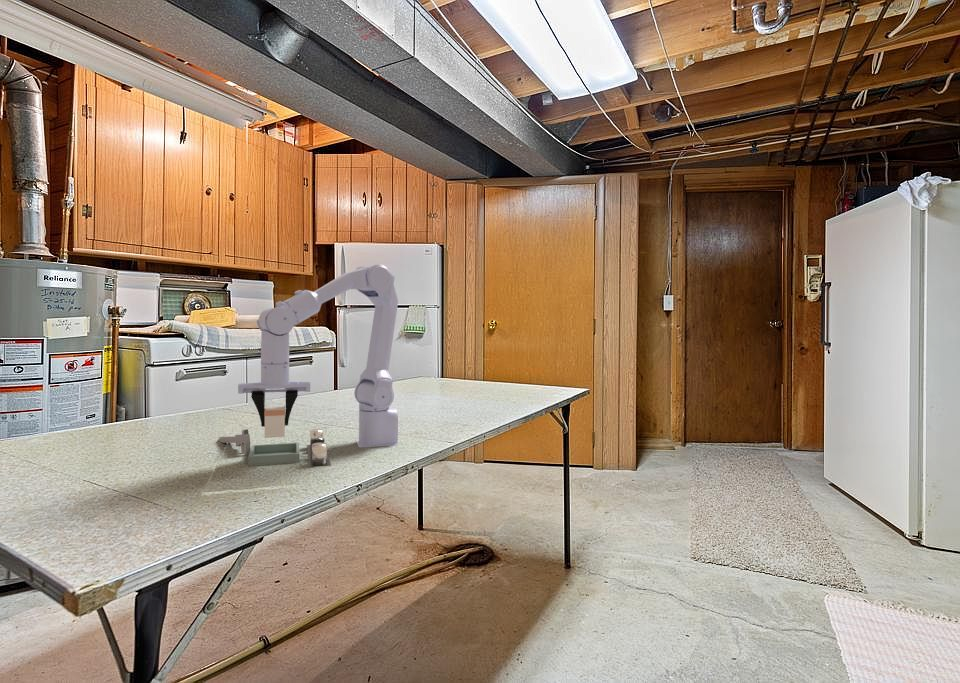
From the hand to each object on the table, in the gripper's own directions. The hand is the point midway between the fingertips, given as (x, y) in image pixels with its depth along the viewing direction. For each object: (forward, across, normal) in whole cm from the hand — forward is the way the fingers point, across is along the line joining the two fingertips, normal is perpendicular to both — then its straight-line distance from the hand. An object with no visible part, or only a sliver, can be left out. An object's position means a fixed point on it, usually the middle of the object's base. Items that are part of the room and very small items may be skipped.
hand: (275, 425), depth 113 cm
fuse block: (+8, -9, 0) cm, 12 cm away
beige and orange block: (+2, 0, 0) cm, 2 cm away
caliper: (+8, +10, -13) cm, 18 cm away
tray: (+8, 0, 0) cm, 8 cm away
